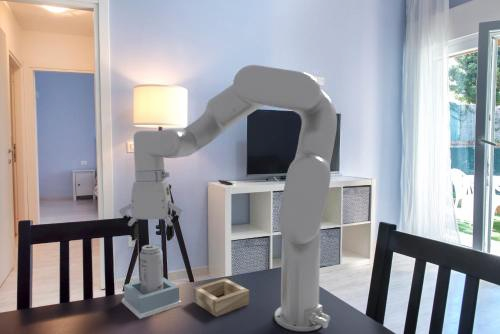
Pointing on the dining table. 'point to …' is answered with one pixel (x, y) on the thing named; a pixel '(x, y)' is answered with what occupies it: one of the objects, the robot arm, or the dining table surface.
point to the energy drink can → (151, 269)
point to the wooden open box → (218, 306)
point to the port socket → (151, 299)
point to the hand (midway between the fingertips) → (152, 239)
